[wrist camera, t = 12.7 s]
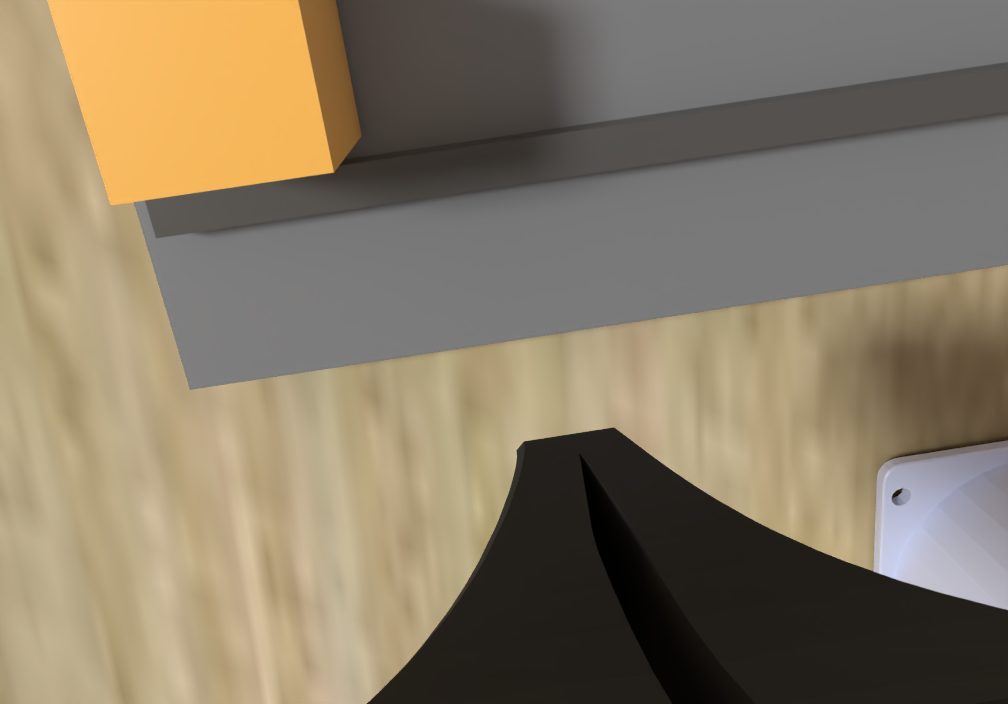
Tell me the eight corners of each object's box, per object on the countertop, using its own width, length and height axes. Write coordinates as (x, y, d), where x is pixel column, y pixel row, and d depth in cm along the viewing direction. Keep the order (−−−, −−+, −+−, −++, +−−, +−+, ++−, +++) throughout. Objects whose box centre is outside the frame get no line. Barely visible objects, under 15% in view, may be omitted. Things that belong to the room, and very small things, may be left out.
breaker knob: (362, 135, 15) (333, 172, 11) (199, 159, 15) (111, 205, 11) (327, -44, 14) (282, -75, 10) (152, -18, 14) (34, -41, 10)
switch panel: (960, 228, 20) (1072, 268, 17) (225, 339, 20) (179, 406, 16) (1003, -386, 16) (1167, -509, 12) (60, -260, 15) (-54, -348, 12)
